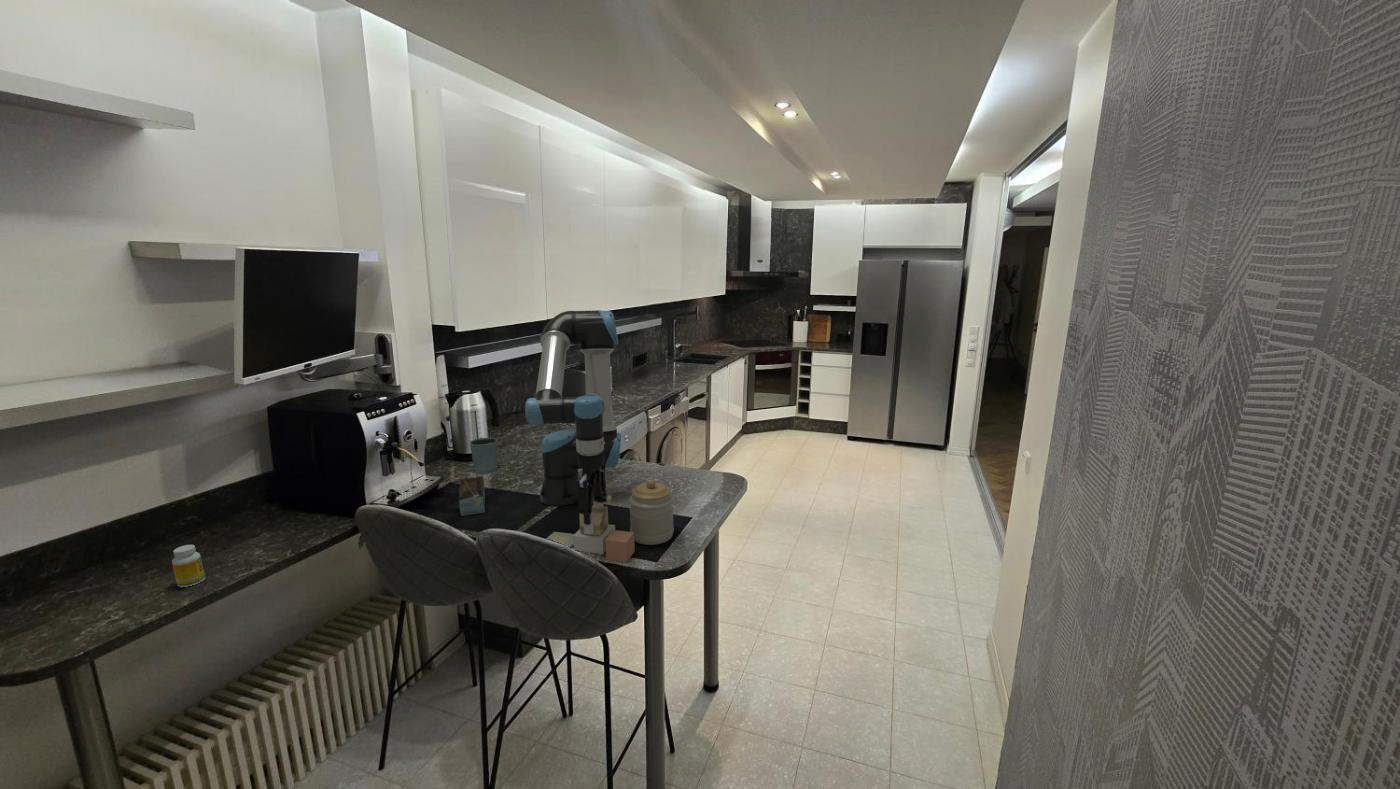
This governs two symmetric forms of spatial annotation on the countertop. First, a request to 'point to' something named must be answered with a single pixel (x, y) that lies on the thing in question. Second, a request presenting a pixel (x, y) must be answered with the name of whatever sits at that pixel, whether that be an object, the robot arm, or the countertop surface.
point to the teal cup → (484, 454)
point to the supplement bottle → (187, 566)
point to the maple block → (597, 519)
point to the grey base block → (592, 541)
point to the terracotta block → (620, 546)
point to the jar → (651, 513)
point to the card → (562, 538)
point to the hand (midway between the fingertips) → (594, 528)
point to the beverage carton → (472, 496)
